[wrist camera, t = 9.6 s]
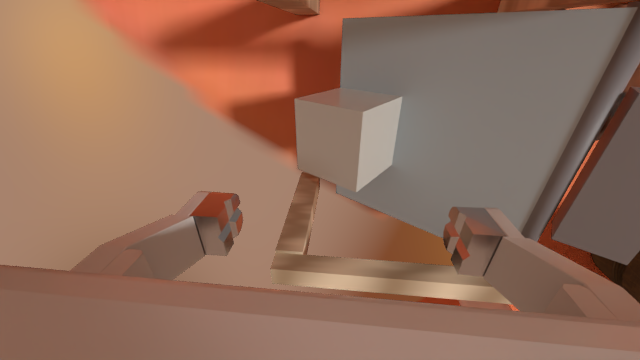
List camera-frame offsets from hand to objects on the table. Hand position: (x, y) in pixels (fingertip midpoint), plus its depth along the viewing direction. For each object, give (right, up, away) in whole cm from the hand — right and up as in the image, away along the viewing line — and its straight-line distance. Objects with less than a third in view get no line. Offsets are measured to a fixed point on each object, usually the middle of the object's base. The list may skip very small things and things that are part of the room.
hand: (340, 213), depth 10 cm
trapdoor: (+9, +4, +7) cm, 12 cm away
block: (+3, +5, +9) cm, 11 cm away
